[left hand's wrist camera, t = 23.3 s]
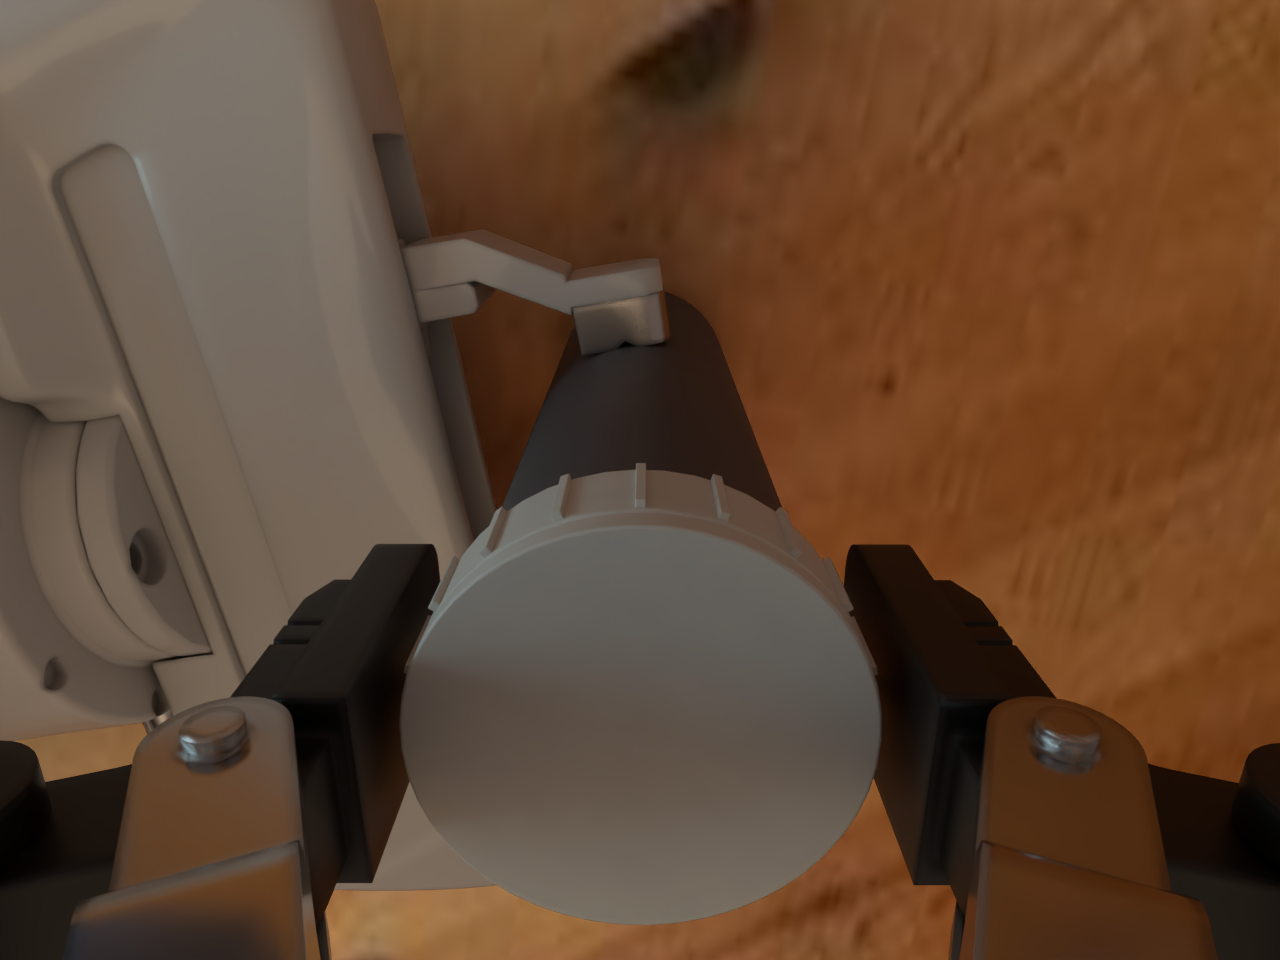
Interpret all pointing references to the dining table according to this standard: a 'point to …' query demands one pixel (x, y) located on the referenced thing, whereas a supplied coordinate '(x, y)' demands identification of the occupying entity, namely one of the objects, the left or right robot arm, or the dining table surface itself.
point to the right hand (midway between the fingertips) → (685, 433)
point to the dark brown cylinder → (645, 414)
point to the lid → (640, 700)
